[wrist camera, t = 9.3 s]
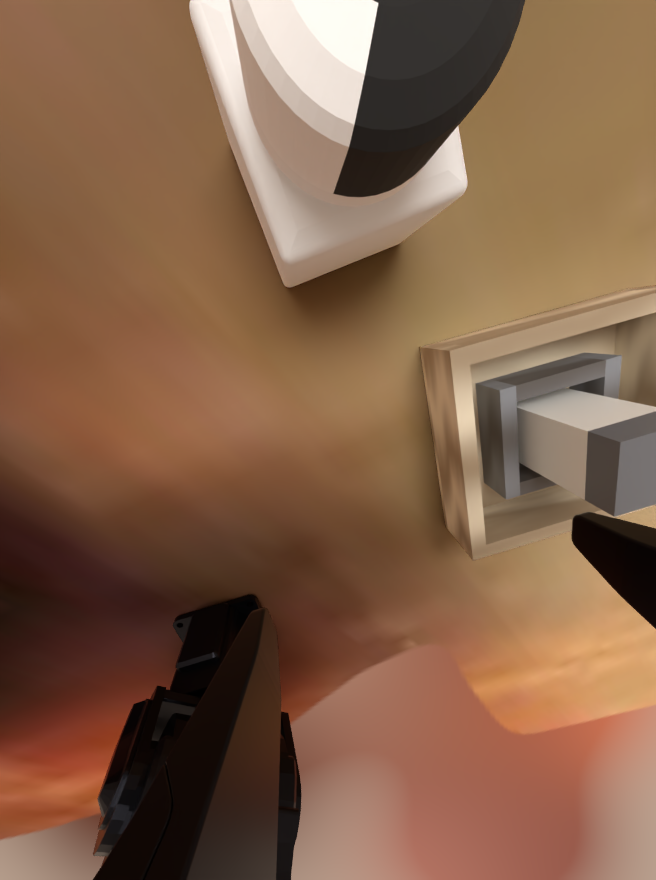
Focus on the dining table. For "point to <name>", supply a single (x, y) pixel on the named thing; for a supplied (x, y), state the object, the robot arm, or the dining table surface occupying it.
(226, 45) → the medicine bottle
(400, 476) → the dining table surface
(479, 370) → the socket box
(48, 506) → the dining table surface
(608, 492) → the grey rectangular prism
